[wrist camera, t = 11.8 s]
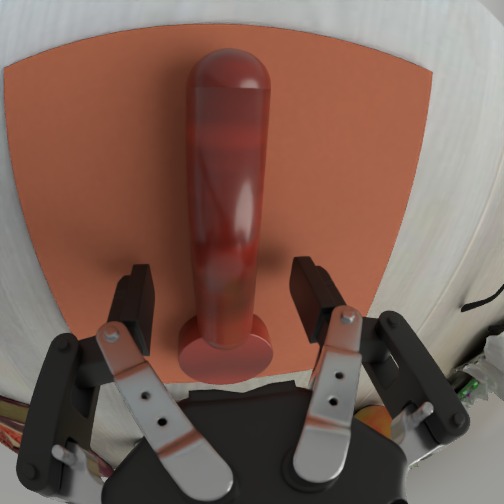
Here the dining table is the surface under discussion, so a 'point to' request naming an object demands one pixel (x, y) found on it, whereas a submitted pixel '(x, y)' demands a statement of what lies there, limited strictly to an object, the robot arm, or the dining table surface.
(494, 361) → the diorama
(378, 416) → the apple
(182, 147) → the red mat
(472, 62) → the dining table surface
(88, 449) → the robot arm
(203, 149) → the red spoon
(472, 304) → the eyeglasses
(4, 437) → the book
